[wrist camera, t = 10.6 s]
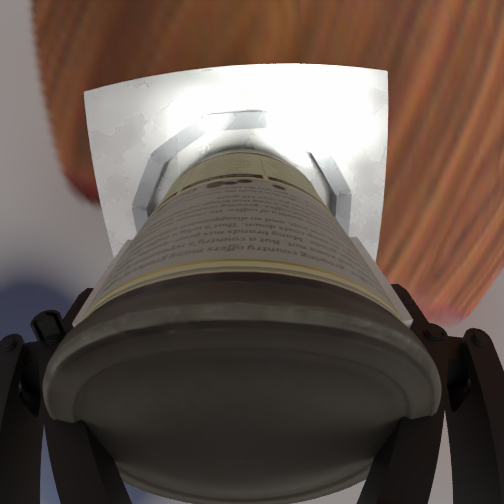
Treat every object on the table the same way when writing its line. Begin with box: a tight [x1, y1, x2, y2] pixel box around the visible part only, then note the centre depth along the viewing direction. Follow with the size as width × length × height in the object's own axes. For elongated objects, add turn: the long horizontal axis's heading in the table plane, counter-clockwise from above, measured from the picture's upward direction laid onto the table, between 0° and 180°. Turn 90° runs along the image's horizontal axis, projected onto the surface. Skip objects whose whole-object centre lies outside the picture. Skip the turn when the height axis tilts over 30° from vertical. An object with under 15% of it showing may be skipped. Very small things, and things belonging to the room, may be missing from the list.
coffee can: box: [43, 149, 442, 504], centre depth 13 cm, size 10×10×14 cm
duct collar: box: [84, 64, 388, 262], centre depth 21 cm, size 20×20×2 cm
